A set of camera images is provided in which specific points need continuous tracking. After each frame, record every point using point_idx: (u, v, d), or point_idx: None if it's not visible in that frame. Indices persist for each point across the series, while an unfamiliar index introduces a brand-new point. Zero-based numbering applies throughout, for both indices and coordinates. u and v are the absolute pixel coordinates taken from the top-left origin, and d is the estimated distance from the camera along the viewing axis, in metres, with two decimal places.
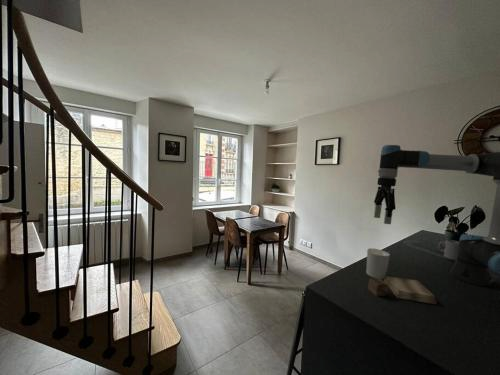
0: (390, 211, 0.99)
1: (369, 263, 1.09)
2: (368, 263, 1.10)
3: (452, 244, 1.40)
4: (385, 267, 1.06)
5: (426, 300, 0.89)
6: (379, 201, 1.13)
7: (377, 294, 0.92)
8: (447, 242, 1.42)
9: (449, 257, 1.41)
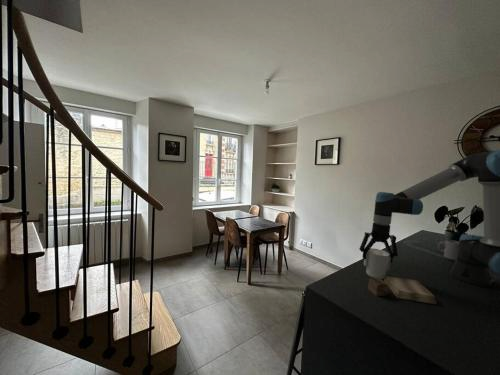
0: (363, 253, 1.11)
1: (369, 263, 1.09)
2: (368, 263, 1.10)
3: (452, 244, 1.40)
4: (385, 267, 1.06)
5: (426, 300, 0.89)
6: (387, 250, 1.09)
7: (377, 294, 0.92)
8: (447, 242, 1.42)
9: (449, 257, 1.41)
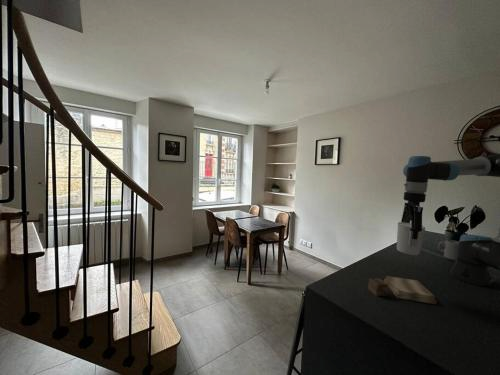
0: (416, 233, 0.90)
1: (418, 241, 0.92)
2: None
3: (452, 244, 1.40)
4: None
5: (426, 300, 0.89)
6: (407, 220, 1.00)
7: (377, 294, 0.92)
8: (447, 242, 1.42)
9: (449, 257, 1.41)
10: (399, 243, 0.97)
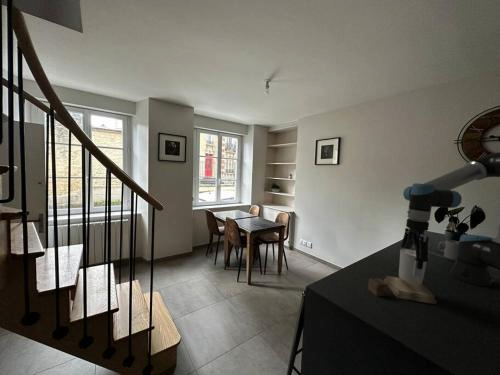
0: (421, 262, 0.88)
1: (422, 270, 0.91)
2: None
3: (452, 244, 1.40)
4: None
5: (426, 300, 0.89)
6: (408, 246, 0.99)
7: (377, 294, 0.92)
8: (447, 242, 1.42)
9: (449, 257, 1.41)
10: (402, 271, 0.95)
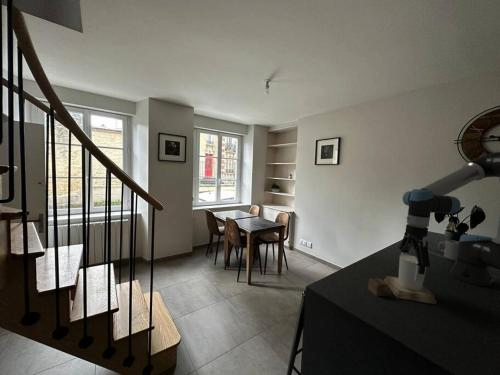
0: (423, 268, 0.87)
1: None
2: None
3: (452, 244, 1.40)
4: None
5: (426, 300, 0.89)
6: (406, 249, 1.00)
7: (377, 294, 0.92)
8: (447, 242, 1.42)
9: (449, 257, 1.41)
10: (402, 278, 0.95)
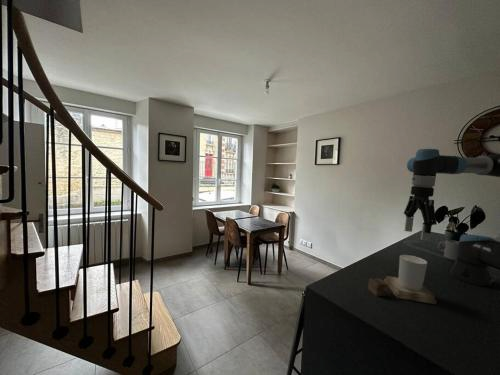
0: (429, 226, 0.85)
1: (421, 276, 0.91)
2: (419, 277, 0.91)
3: (452, 244, 1.40)
4: None
5: (426, 300, 0.89)
6: (411, 212, 0.99)
7: (377, 294, 0.92)
8: (447, 242, 1.42)
9: (449, 257, 1.41)
10: (402, 278, 0.95)
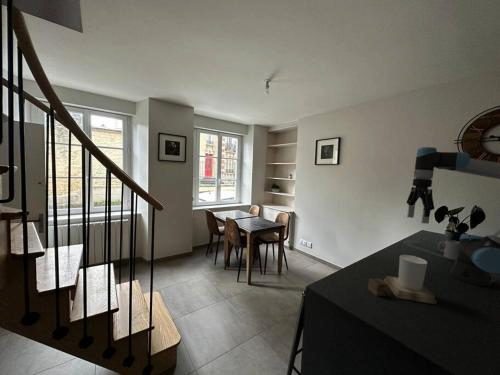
0: (428, 211, 1.03)
1: (421, 276, 0.91)
2: (419, 277, 0.91)
3: (452, 244, 1.40)
4: None
5: (426, 300, 0.89)
6: (413, 201, 1.17)
7: (377, 294, 0.92)
8: (447, 242, 1.42)
9: (449, 257, 1.41)
10: (402, 278, 0.95)
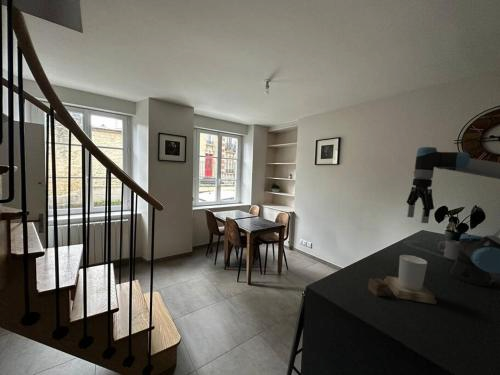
0: (428, 211, 1.03)
1: (421, 276, 0.91)
2: (419, 277, 0.91)
3: (452, 244, 1.40)
4: None
5: (426, 300, 0.89)
6: (413, 201, 1.17)
7: (377, 294, 0.92)
8: (447, 242, 1.42)
9: (449, 257, 1.41)
10: (402, 278, 0.95)
